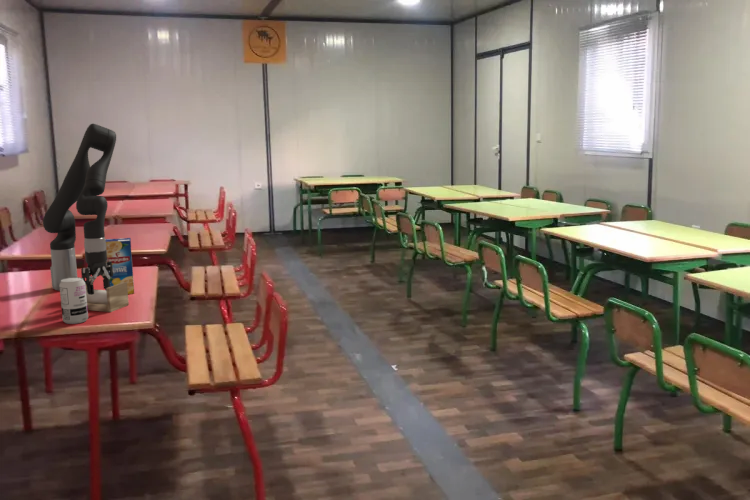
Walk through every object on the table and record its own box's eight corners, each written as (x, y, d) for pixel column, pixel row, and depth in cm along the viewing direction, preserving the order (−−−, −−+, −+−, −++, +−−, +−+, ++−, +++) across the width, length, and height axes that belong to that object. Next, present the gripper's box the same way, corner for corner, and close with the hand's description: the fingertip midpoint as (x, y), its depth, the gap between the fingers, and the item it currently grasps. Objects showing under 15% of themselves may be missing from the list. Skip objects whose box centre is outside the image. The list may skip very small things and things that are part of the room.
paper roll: (82, 304, 254) (81, 290, 253) (93, 301, 259) (92, 287, 258) (108, 307, 250) (107, 293, 249) (118, 303, 256) (117, 289, 255)
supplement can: (67, 318, 241) (64, 277, 238) (91, 317, 241) (88, 276, 239) (59, 324, 233) (55, 282, 230) (84, 324, 233) (80, 282, 231)
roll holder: (72, 309, 252) (69, 285, 251) (93, 301, 263) (91, 278, 261) (109, 312, 247) (107, 288, 246) (129, 304, 258) (127, 281, 256)
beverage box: (134, 293, 275) (130, 240, 270) (105, 296, 271) (101, 242, 267) (134, 289, 281) (130, 237, 277) (106, 292, 277) (101, 239, 273)
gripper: (100, 245, 259) (103, 286, 262) (73, 252, 245) (77, 295, 248) (116, 246, 256) (119, 287, 259) (90, 253, 243) (94, 297, 246)
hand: (98, 291), depth 254 cm, fingers open, 8 cm apart
